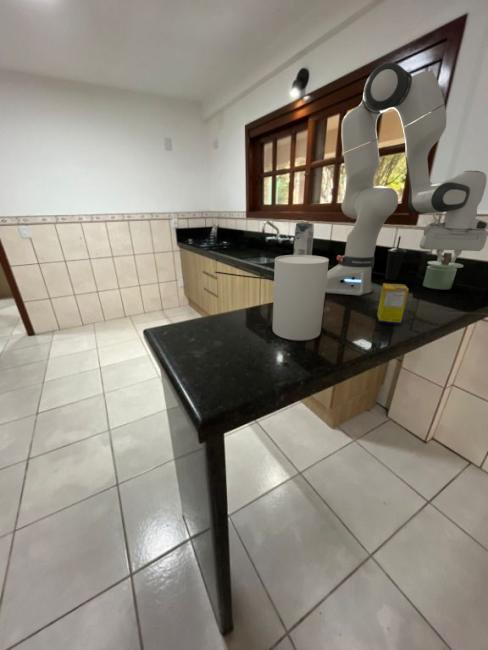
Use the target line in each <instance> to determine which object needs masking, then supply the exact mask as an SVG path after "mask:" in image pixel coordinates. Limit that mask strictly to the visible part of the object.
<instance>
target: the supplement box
mask: <svg viewBox="0 0 488 650" xmlns="http://www.w3.org/2000/svg"><path fill="white" fill-rule="evenodd" d="M408 294H409V288H408V287H407V286H406V284H401V283H387V282H384V283H382V288H381V293H380V298H379V302H378V307H377V313H376V318H377V322H378V323H379V324H389V325H390V324H391V325H399V326H400V325H401V323H402V320H403V316H404V312H405V307H406V302H407V298H408Z"/></svg>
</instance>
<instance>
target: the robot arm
mask: <svg viewBox="0 0 488 650" xmlns="http://www.w3.org/2000/svg"><path fill="white" fill-rule="evenodd" d="M391 109H393V110H395V112H397V113H398V115H399V119H400V122H401V128H402V131H403V136H404V142H405V154H404V155H405V164H406V171H407V172H406V173H407V177H408V178H407V180H408V185H409V193H408V199H407V200H408V201H407V203H408V204H407V205H408V208H409V210H410V211H411V212H412V213H413V214H416V215H425V214H440V213H445V214H444V218H443V221H442V222H430V223H429V224H426V225H425V226H424V229H423V234H422V237H421V239H420V242H419V248H420V249H422V250H436V251H435V252H436V253H435V254H436V255H437V260H436V261H437V262H444V259H445V258H444V257H443V255H442V254H444V253H445V251H453V254H452V256H451V259H450V262H449V263H456V259H457V258H459V256H460V255H461V254H462V251H465V252H466V251H467V252H481V251H482V250H483V249H484V248H485V246H486V243H487V239H488V231H487V230H488V222H486V221H484V220H481V219H479V218H477V214H478V207H479V205H480V203H481V202H482V200H483V196H484V193H485V190H486V187H487V180H488V179H487V178H488V177H487V175H486V173H485V172H483V171H479V170H464V171H461V172H460V173H459V174H457V175H456V176H454V177H451V178H449V179H447V180H445V181H442V182H437V183H433V182H431V179H430V172H429V162H428V157H429V154H430V151H431V150H432V148H433V146H434V145H435V144H436V143H437V142H438V141H439V140H440V139H441V138H442V136H443V134H444V132H445V130H446V128H447V111H446V105H445V100H444V96H443V92H442V89H441V86H440V83H439V81H438V79H437V76H436V74H435V73H434V72H433V71H431V70H424V71H420V72H418V73H416V74H414V75H413V76H412V74H411V73H409V72H408V71H407V70H406V69H404V68H403V67H402V65H400V64H398V63H395V62H391V61H390V62H385V63H382V64H381V65H379V66H376V68H375V69H374V70H373V71H372V72H371V73H370V75H369V76H368V78H367V79H366V81H365V85H364V87H363V92H362V99H361V102H360V104H359V105H358V106H356V107H355V108H352V109H351V110H349V111H348V112H347V113H346V114H345V116H344V117H343V118H342V121H341V146H342V155H343V162H344V168H345V180H346V181H345V183H346V184H345V191H344V192H345V194H344V197H343V198H342V202H341V211H342V213H343V214H344V215H345V216H346V217H348V218H350V219H353V220H355V223H354V226H353V228H352V230H351V231H350V232H349V233H348V235H347V236H346V242H345V250H344V254H343V255H341V254H338V255H337V256H336V260H337V261H338V264H336V265H335V266H333V267H332V268H331V269H328V272H327V280H326V289H325V294H326V293H327V294H339V295H351V296H362V295H365V294H369V293H371V292H372V291H373V290H372V271H373V270H374V269H373V268H374V265H375V259H376V257H375V253H376V246H377V242H378V239H379V235H380V232H381V230H382V228H383V225H384V224H385V222H386V221H387V219H389V217H390V216H391V215H392V214H394V213H395V211H396V209H397V208H398V205H399V195H398V193H397V190H395V189H394V188H392V187H388V186H383V185H379V186H378V185H377V186H374V184H375V183H374V182H375V177H376V176H375V175H376V174H377V173H376V172H377V171H378V169H379V168H380V164H381V162H380V161H381V160H380V152H379V143H378V142H379V141H378V134H377V133H378V132H377V121H378V119H379V117H381V116H382V115H383V114H384V113H387V111H389V110H391ZM214 274H219V275H225V276H233V277H240V278H249V279H250V278H251V279H259V280H268V281H269V280H270V281H274V277H264V276H253V275H244V274H235V273H231V272H230V273H229V272H222V271H215V272H214Z"/></svg>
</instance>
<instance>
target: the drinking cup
mask: <svg viewBox="0 0 488 650" xmlns="http://www.w3.org/2000/svg"><path fill="white" fill-rule="evenodd" d="M401 238H402V236H401V235H400V236H398V241H397V246H396V247H392V248H390V249H388V250H387V261H386V269H385V276H384V277H385V280H388V281H396V280H398V279H397V278H398V275H399V273H400V270H401V266H402V263H403V261H404V257H405V255H406V253H407V250H405V249H403V248H401V247H400V242H401Z"/></svg>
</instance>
